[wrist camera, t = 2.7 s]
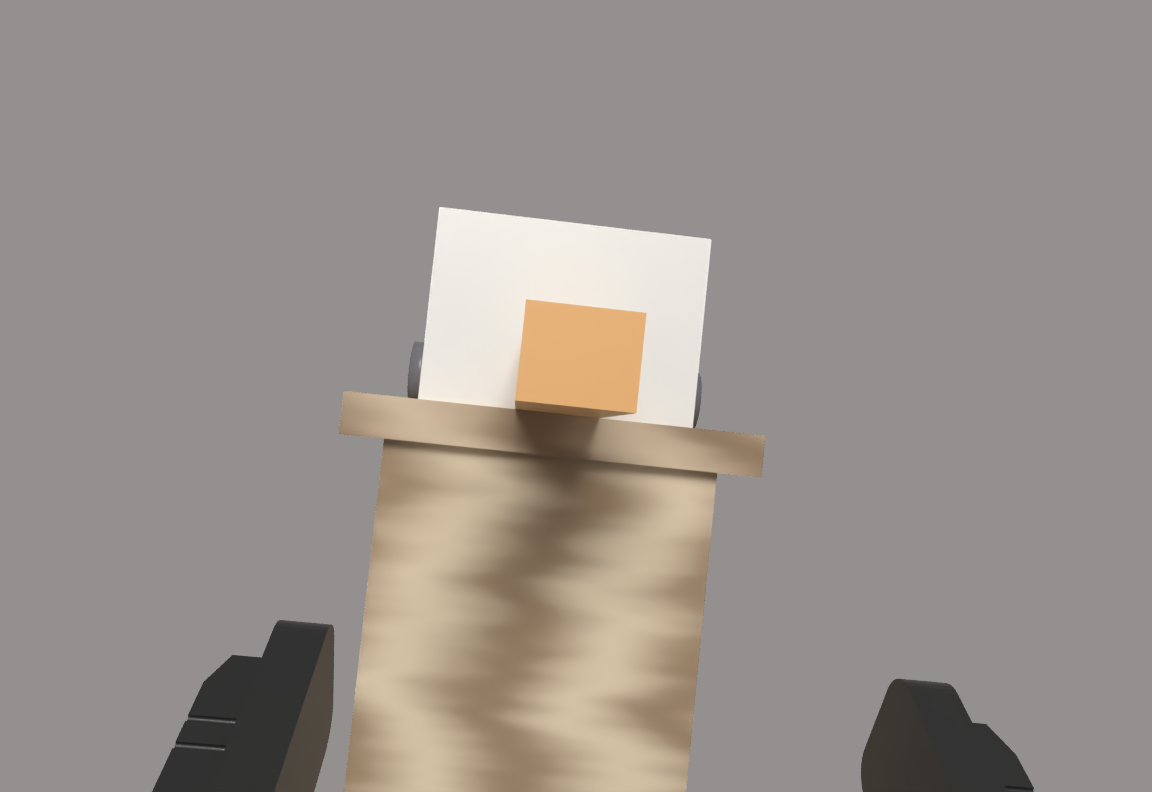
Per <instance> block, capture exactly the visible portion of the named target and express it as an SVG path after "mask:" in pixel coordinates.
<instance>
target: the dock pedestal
mask: <svg viewBox="0 0 1152 792" xmlns="http://www.w3.org/2000/svg"><path fill="white" fill-rule="evenodd" d="M339 434H345V435H355V436H364V437H374V438H384V444H383V454H382V462H381V471H380V480H379V488H378V497H377V507H376V515H375V523H374V532H373V541H372V550H371V559H370V568H369V576H368V585H367V594H366V603H365V612H364V620H363V629H362V638H361V647H360V657H359V665H358V674H357V683H356V691H355V700H354V709H353V718H352V727H351V735H350V744H349V753H348V762H347V770H346V779H345V788H344V792H686V785H687V776H688V765H689V755H690V745H691V734H692V724H693V714H694V704H695V693H696V683H697V673H698V663H699V653H700V643H701V632H702V622H703V612H704V601H705V591H706V581H707V571H708V561H709V550H710V540H711V530H712V519H713V509H714V499H715V489H716V478H717V473H723V474H733V475H742V476H752V477H761V476H762V465H763V455H764V444H765V436H763V435H754V434H744V433H735V432H725V431H716V430H706V429H697V428H688V427H678V426H669V425H659V424H650V423H640V422H631V421H622V420H612V419H603V418H593V417H584V416H574V415H565V414H555V413H546V412H537V411H527V410H518V409H508V408H499V407H489V406H480V405H471V404H461V403H452V402H442V401H433V400H423V399H414V398H404V397H395V396H385V395H376V394H366V393H357V392H348V391H344V394H343V402H342V411H341V419H340V428H339Z"/></svg>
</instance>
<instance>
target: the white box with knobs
mask: <svg viewBox="0 0 1152 792" xmlns="http://www.w3.org/2000/svg"><path fill="white" fill-rule="evenodd" d="M710 249H711V239H704V238H696V237H688V236H679V235H671V234H663V233H654V232H646V231H637V230H629V229H621V228H612V227H604V226H595V225H587V224H578V223H569V222H561V221H553V220H545V219H536V218H528V217H520V216H510V215H503V214H494V213H486V212H477V211H469V210H460V209H451V208H443V207H440V208H439V216H438V224H437V234H436V242H435V251H434V261H433V269H432V278H431V288H430V296H429V305H428V314H427V323H426V332H425V341H424V343H423V342H415V343H414V345H413V348H412V353H411V359H410V365H409V375H408V398H414V399H423V400H433V401H442V402H452V403H461V404H471V405H480V406H489V407H499V408H508V409H518V410H527V411H537V412H546V413H555V414H565V415H574V416H584V417H593V418H603V419H612V420H622V421H631V422H640V423H650V424H659V425H669V426H678V427H688V428H695V426H696V423H697V420H698V416H699V410H700V403H701V377H700V374H699V373H698V370H699V360H700V349H701V340H702V330H703V329H702V328H703V319H704V309H705V299H706V289H707V279H708V268H709V259H710Z"/></svg>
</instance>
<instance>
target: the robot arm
mask: <svg viewBox="0 0 1152 792" xmlns="http://www.w3.org/2000/svg"><path fill="white" fill-rule="evenodd" d="M333 679H334V628H333V626H332V625H328V624H317V623H306V622H296V621H284V620H279V621H278V622H277V623H276V625H275V627H274V629H273V631H272V634H271V636H270V639H269V641H268V644H267V646H266V649H265V651H264V654H263V656H262V658H260V657H248V656H237V655H232V656H231V657H230V658H229V659H228V660H227V661H226V662H225V663H224V664H223V665H221V666H220V668H218V669H217V670H216V671H215V672H214V673H213V674H212V675H211V676H210V677H208V678H207V679H206V681H204V682H203V685H202V687H201V689H200V691H199V693H198V695H197V697H196V699H195V701H194V704H193V706H192V708H191V710H190V712H189V714H188V720H187V721H185V723H184V725H183V727H182V729H181V732H180V733H179V736H178V738H177V740H176V745H175V748H173V749H172V750H171V753H170V755H169V757H168V759H167V761H166V763H165V765H164V768H163V770H162V772H161V774H160V776H159V778H158V780H157V782H156V785H155V787H154V789H153V791H152V792H314V790H315V787H316V783H317V780H318V776H319V773H320V769H321V766H322V762H323V759H324V755H325V752H326V748H327V743H328V739H329V733H330V728H331V721H332V712H333ZM861 780H862V789H863V792H1033V789H1034V787H1033V786H1032V784H1031V782H1030V780H1029V778H1028V776H1027V774H1026V773H1025V771H1024V769H1023V767H1022V765H1021V763H1020V761H1019V760H1018V758H1017V756H1016V754H1014V752H1013V751H1012V750H1011V749H1010V748H1009V747H1008V746H1007V745H1006V744H1005V743H1004V742H1003V741H1002V740H1001V739H1000V738H999V737H998V736H997V735H996V734H995V733H994V732H993V731H992V730H991V729H990V728H989V727H988V726H987V725H986V724H979V723H972V721H971V720H970V717H969V716H968V714H967V712H966V710H965V708H964V706H963V704H962V702H961V700H960V698H959V696H958V694H957V692H956V690H955V689H954V688H953V687H952V686H951V685H950V684H947V683H937V682H927V681H917V680H905V679H895V680H894V681H893V682H892V683H891V684H890V686H889V688H888V690H887V693H886V695H885V698H884V700H883V703H882V706H881V708H880V711H879V714H878V716H877V719H876V721H875V724H874V726H873V729H872V732H871V734H870V737H869V739H868V742H867V744H866V747H865V750H864V753H863V757H862V764H861Z"/></svg>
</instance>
